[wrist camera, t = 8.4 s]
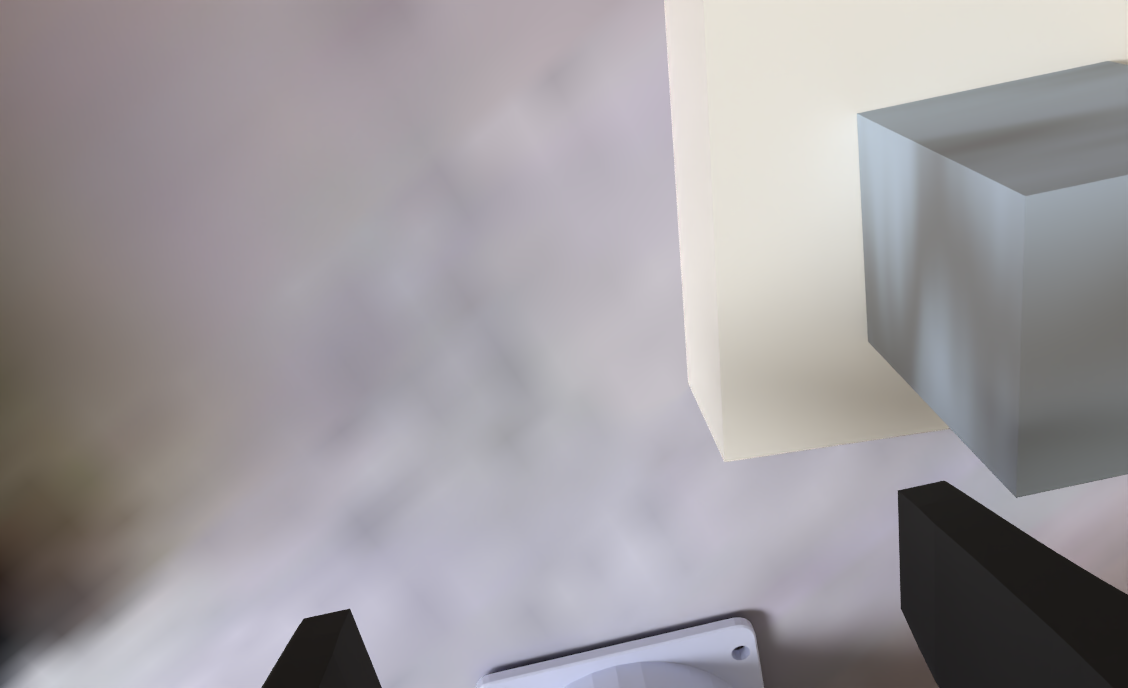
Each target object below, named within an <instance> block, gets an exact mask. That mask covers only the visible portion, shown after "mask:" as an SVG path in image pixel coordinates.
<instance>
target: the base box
mask: <svg viewBox="0 0 1128 688" xmlns="http://www.w3.org/2000/svg"><path fill="white" fill-rule="evenodd" d="M664 7H665V23H666V38H667V54H668V70H669V86H670V102H671V118H672V134H673V149H674V165H675V181H676V197H677V213H678V229H679V244H680V260H681V276H682V292H683V308H684V324H685V340H686V355H687V371H688V384H689V386H690V388H691V390H692V393H693V395H694V397H695V399H696V401H697V403H698V406H699V408H700V410H701V412H702V414H703V416H704V419H705V421H706V423H707V425H708V427H709V429H710V432H711V434H712V436H713V438H714V440H715V442H716V445H717V447H718V449H719V451H720V453H721V456H722V458H723V460H724V462H729V461H735V460H742V459H749V458H756V457H762V456H769V455H776V454H783V453H790V452H796V451H803V450H810V449H817V448H823V447H830V446H837V445H844V444H851V443H857V442H864V441H871V440H878V439H884V438H891V437H898V436H905V435H911V434H918V433H925V432H932V431H939V430H945V429H950V428H949V426H948V425H947V424H946V423H945V422H944V421H943V420H942V419H941V418H940V417H939V416H938V415H937V414H936V413H935V412H934V411H933V410H932V409H931V408H930V406H929V405H928V404H927V403H926V402H925V401H924V400H923V399H922V398H921V397H920V396H919V395H918V394H917V393H916V392H915V391H914V390H913V389H912V388H911V386H910V385H909V384H908V383H907V382H906V381H905V380H904V379H903V378H902V377H901V376H900V375H899V374H898V373H897V372H896V371H895V370H894V369H893V368H892V366H891V365H890V364H889V363H888V362H887V361H886V360H885V359H884V358H883V357H882V356H881V355H880V354H879V353H878V352H877V351H876V350H875V349H874V347H873V346H872V345H871V344H870V343H869V342H868V332H867V312H866V291H865V271H864V250H863V230H862V209H861V189H860V168H859V147H858V127H857V113H862V112H867V111H871V110H876V109H881V108H886V107H891V106H895V105H900V104H905V103H910V102H914V101H919V100H924V99H929V98H933V97H938V96H943V95H948V94H952V93H957V92H962V91H967V90H971V89H976V88H981V87H986V86H991V85H995V84H1000V83H1005V82H1010V81H1014V80H1019V79H1024V78H1029V77H1033V76H1038V75H1043V74H1048V73H1053V72H1057V71H1062V70H1067V69H1072V68H1076V67H1081V66H1086V65H1091V64H1096V63H1100V62H1105V61H1111V62H1116V63H1121V64H1125V65H1128V0H664Z"/></svg>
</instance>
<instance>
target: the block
mask: <svg viewBox="0 0 1128 688" xmlns="http://www.w3.org/2000/svg"><path fill="white" fill-rule="evenodd" d="M857 127H858V147H859V168H860V189H861V209H862V230H863V250H864V271H865V291H866V312H867V332H868V342H869V343H870V344H871V345H872V346H873V347H874V349H875V350H876V351H877V352H878V353H879V354H880V355H881V356H882V357H883V358H884V359H885V360H886V361H887V362H888V363H889V364H890V365H891V366H892V368H893V369H894V370H895V371H896V372H897V373H898V374H899V375H900V376H901V377H902V378H903V379H904V380H905V381H906V382H907V383H908V384H909V385H910V386H911V388H912V389H913V390H914V391H915V392H916V393H917V394H918V395H919V396H920V397H921V398H922V399H923V400H924V401H925V402H926V403H927V404H928V405H929V406H930V408H931V409H932V410H933V411H934V412H935V413H936V414H937V415H938V416H939V417H940V418H941V419H942V420H943V421H944V422H945V423H946V424H947V425H948V426H949V428H950V429H951V430H952V431H953V432H954V433H955V434H956V435H957V436H958V437H959V438H960V439H961V440H962V441H963V442H964V443H965V444H966V445H967V446H968V448H969V449H970V450H971V451H972V452H973V453H974V454H975V455H976V456H977V457H978V458H979V459H980V460H981V461H982V462H983V463H984V464H985V465H986V466H987V468H988V469H989V470H990V471H991V472H992V473H993V474H994V475H995V476H996V477H997V478H998V479H999V480H1000V481H1001V482H1002V483H1003V484H1004V485H1005V487H1006V488H1007V489H1008V490H1009V491H1010V492H1011V493H1012V494H1013V495H1014V496H1015V497H1016V498H1017V497H1022V496H1026V495H1031V494H1036V493H1041V492H1045V491H1050V490H1055V489H1060V488H1064V487H1069V486H1074V485H1078V484H1083V483H1088V482H1093V481H1097V480H1102V479H1107V478H1112V477H1116V476H1121V475H1126V474H1128V65H1125V64H1121V63H1116V62H1111V61H1105V62H1100V63H1096V64H1091V65H1086V66H1081V67H1076V68H1072V69H1067V70H1062V71H1057V72H1053V73H1048V74H1043V75H1038V76H1033V77H1029V78H1024V79H1019V80H1014V81H1010V82H1005V83H1000V84H995V85H991V86H986V87H981V88H976V89H971V90H967V91H962V92H957V93H952V94H948V95H943V96H938V97H933V98H929V99H924V100H919V101H914V102H910V103H905V104H900V105H895V106H891V107H886V108H881V109H876V110H871V111H867V112H862V113H857Z"/></svg>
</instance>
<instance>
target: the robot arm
mask: <svg viewBox="0 0 1128 688" xmlns="http://www.w3.org/2000/svg"><path fill="white" fill-rule="evenodd" d="M898 513H899V553H900V592H901V610H902V612H903V614H904V616H905V618H906V621H907V623H908V625H909V627H910V629H911V631H912V634H913V636H914V638H915V640H916V642H917V644H918V647H919V649H920V651H921V653H922V655H923V657H924V659H925V661H926V663H927V665H928V667H929V669H930V671H931V673H932V675H933V677H934V679H935V681H936V683H937V684H938V686H939V688H1128V595H1127V594H1125V593H1124V592H1122V591H1120V590H1118V589H1117V588H1115V587H1113V586H1112V585H1110V584H1108V583H1106V582H1105V581H1103V580H1101V579H1099V578H1098V577H1096V576H1094V575H1093V574H1091V573H1089V572H1088V571H1086V570H1084V569H1083V568H1081V567H1079V566H1078V565H1076V564H1074V563H1073V562H1071V561H1069V560H1068V559H1066V558H1065V557H1063V556H1061V555H1060V554H1058V553H1056V552H1055V551H1053V550H1052V549H1050V548H1048V547H1047V546H1045V545H1044V544H1042V543H1040V542H1039V541H1037V540H1036V539H1034V538H1033V537H1031V536H1029V535H1028V534H1026V533H1025V532H1023V531H1022V530H1020V529H1019V528H1017V527H1015V526H1014V525H1012V524H1011V523H1009V522H1008V521H1006V520H1005V519H1003V518H1002V517H1000V516H998V515H997V514H995V513H994V512H992V511H991V510H989V509H988V508H986V507H985V506H983V505H982V504H980V503H979V502H977V501H976V500H974V499H972V498H971V497H969V496H968V495H966V494H965V493H963V492H962V491H960V490H959V489H957V488H955V487H954V486H952V485H951V484H949V483H947V482H946V481H940V482H936V483H931V484H927V485H922V486H917V487H913V488H908V489H903V490H899V491H898ZM738 646H744V647H743V648H741V649H739V650H734V649H735V648H736V647H738ZM262 688H382V687H381V685H380V682H379V680H378V677H377V675H376V672H375V670H374V667H373V665H372V662H371V660H370V657H369V655H368V652H367V650H366V648H365V645H364V643H363V640H362V638H361V635H360V633H359V630H358V628H357V625H356V623H355V620H354V618H353V615H352V613H351V610H350V609H347V610H342V611H337V612H333V613H328V614H323V615H319V616H314V617H309V618H305V619H303V621H302V622H301V624H300V625H299V626H298V628H297V630H296V631H295V633H294V635H293V636H292V638H291V639H290V641H289V643H288V644H287V646H286V648H285V649H284V651H283V653H282V654H281V656H280V658H279V659H278V661H277V663H276V664H275V666H274V668H273V669H272V671H271V673H270V674H269V676H268V678H267V679H266V681H265V683H264V684H263V686H262ZM476 688H764V683H763V677H762V671H761V665H760V658H759V652H758V646H757V640H756V634H755V632H754V629H753V627H752V624H751V622H750V621H748V620H747V619H745V618H741V617H736V618H730V619H725V620H721V621H717V622H712V623H708V624H704V625H699V626H695V627H691V628H686V629H682V630H678V631H674V632H669V633H665V634H661V635H656V636H652V637H648V638H643V639H639V640H635V641H630V642H626V643H622V644H617V645H613V646H609V647H604V648H600V649H596V650H591V651H587V652H583V653H578V654H574V655H570V656H565V657H561V658H557V659H552V660H548V661H544V662H540V663H535V664H531V665H527V666H522V667H518V668H514V669H509V670H505V671H501V672H496V673H492V674H488V675H486V676H483V677H482V678H481V679H479V680H478V682H477V684H476Z"/></svg>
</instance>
